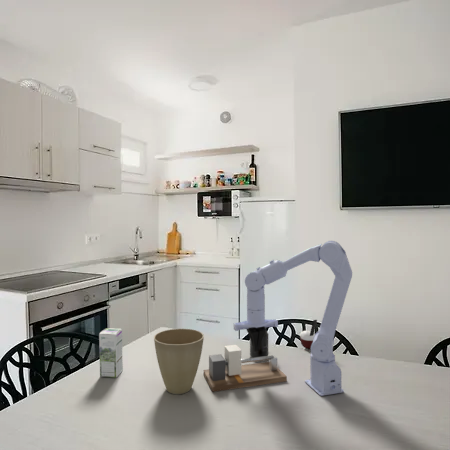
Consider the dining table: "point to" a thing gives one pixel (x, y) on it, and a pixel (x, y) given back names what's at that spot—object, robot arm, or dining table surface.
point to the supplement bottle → (263, 347)
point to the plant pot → (178, 357)
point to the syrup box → (110, 352)
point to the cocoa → (308, 336)
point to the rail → (271, 359)
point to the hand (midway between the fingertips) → (256, 350)
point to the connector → (217, 367)
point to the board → (247, 377)
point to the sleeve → (233, 360)
